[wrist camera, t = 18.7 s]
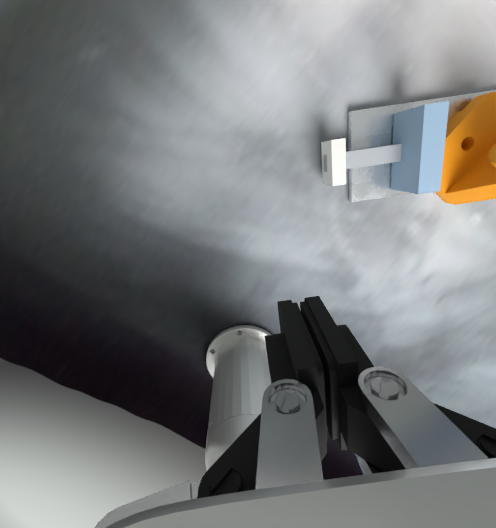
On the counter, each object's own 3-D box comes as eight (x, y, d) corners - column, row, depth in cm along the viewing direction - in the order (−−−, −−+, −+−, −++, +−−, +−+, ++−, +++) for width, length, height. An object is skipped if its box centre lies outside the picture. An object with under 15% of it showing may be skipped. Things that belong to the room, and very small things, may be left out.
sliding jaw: (409, 186, 37) (440, 191, 32) (323, 198, 37) (338, 205, 32) (414, 110, 34) (449, 100, 28) (320, 124, 34) (336, 117, 29)
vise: (522, 176, 38) (581, 179, 32) (348, 201, 39) (371, 209, 32) (540, 83, 35) (612, 65, 28) (348, 112, 35) (373, 101, 28)
